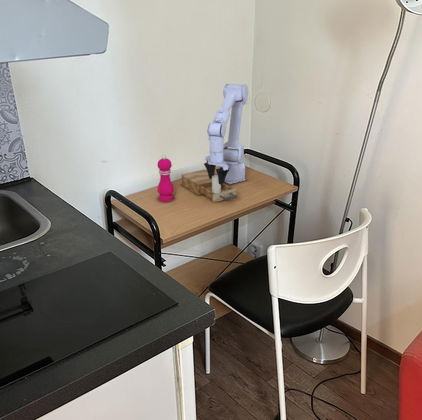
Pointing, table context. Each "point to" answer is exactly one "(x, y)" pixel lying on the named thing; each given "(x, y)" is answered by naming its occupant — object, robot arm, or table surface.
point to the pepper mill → (165, 180)
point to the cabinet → (196, 180)
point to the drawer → (223, 195)
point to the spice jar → (215, 184)
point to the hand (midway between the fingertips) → (216, 181)
